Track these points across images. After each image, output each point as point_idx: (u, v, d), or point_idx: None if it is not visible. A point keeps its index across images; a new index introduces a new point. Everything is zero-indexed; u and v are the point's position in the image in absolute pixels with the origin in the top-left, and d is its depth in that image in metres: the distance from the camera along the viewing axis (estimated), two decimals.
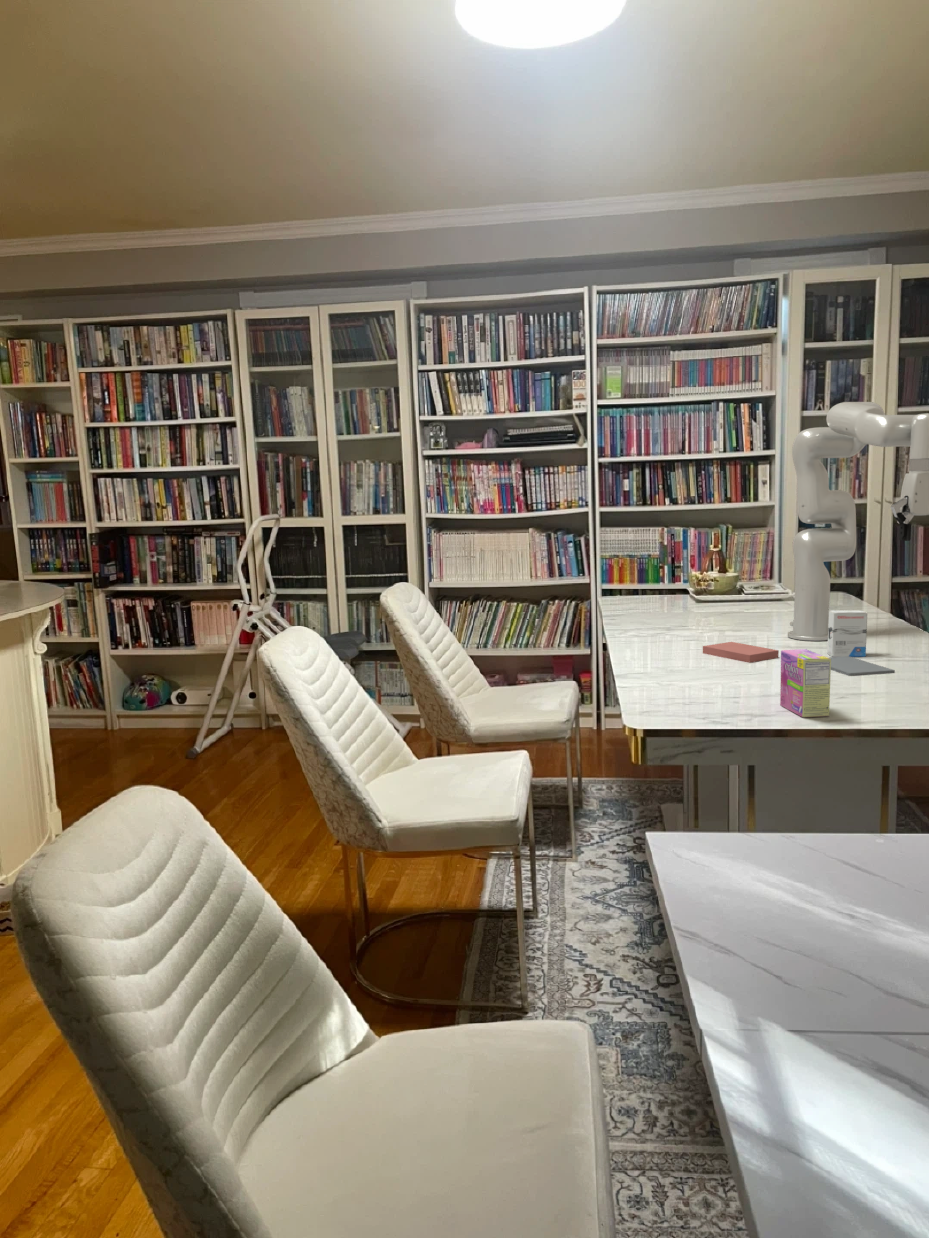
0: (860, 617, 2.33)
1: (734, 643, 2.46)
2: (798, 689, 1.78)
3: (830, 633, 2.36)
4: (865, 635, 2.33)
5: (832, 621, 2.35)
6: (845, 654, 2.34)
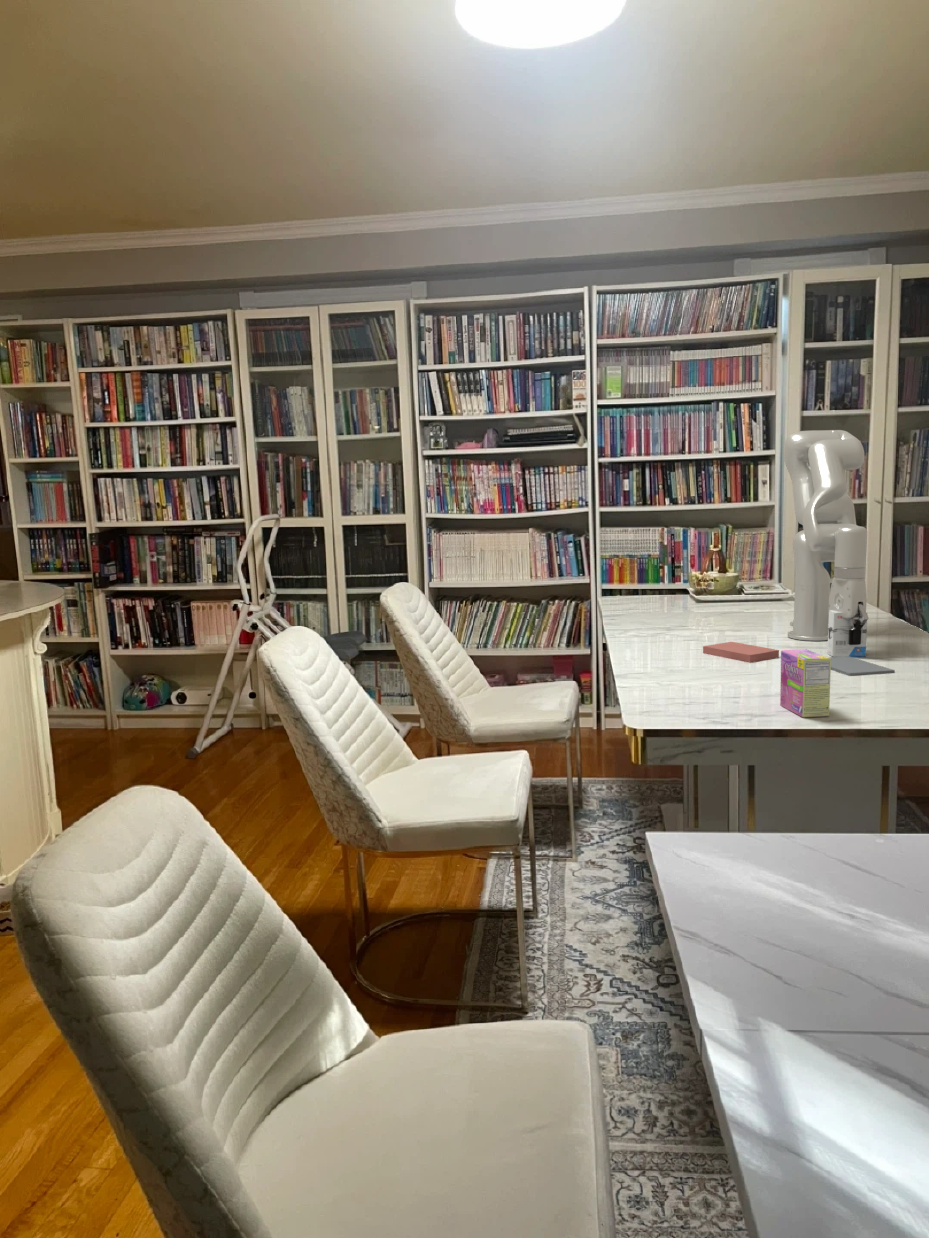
0: None
1: (734, 643, 2.46)
2: (798, 689, 1.78)
3: (830, 633, 2.36)
4: (865, 635, 2.33)
5: (832, 621, 2.35)
6: (845, 654, 2.34)
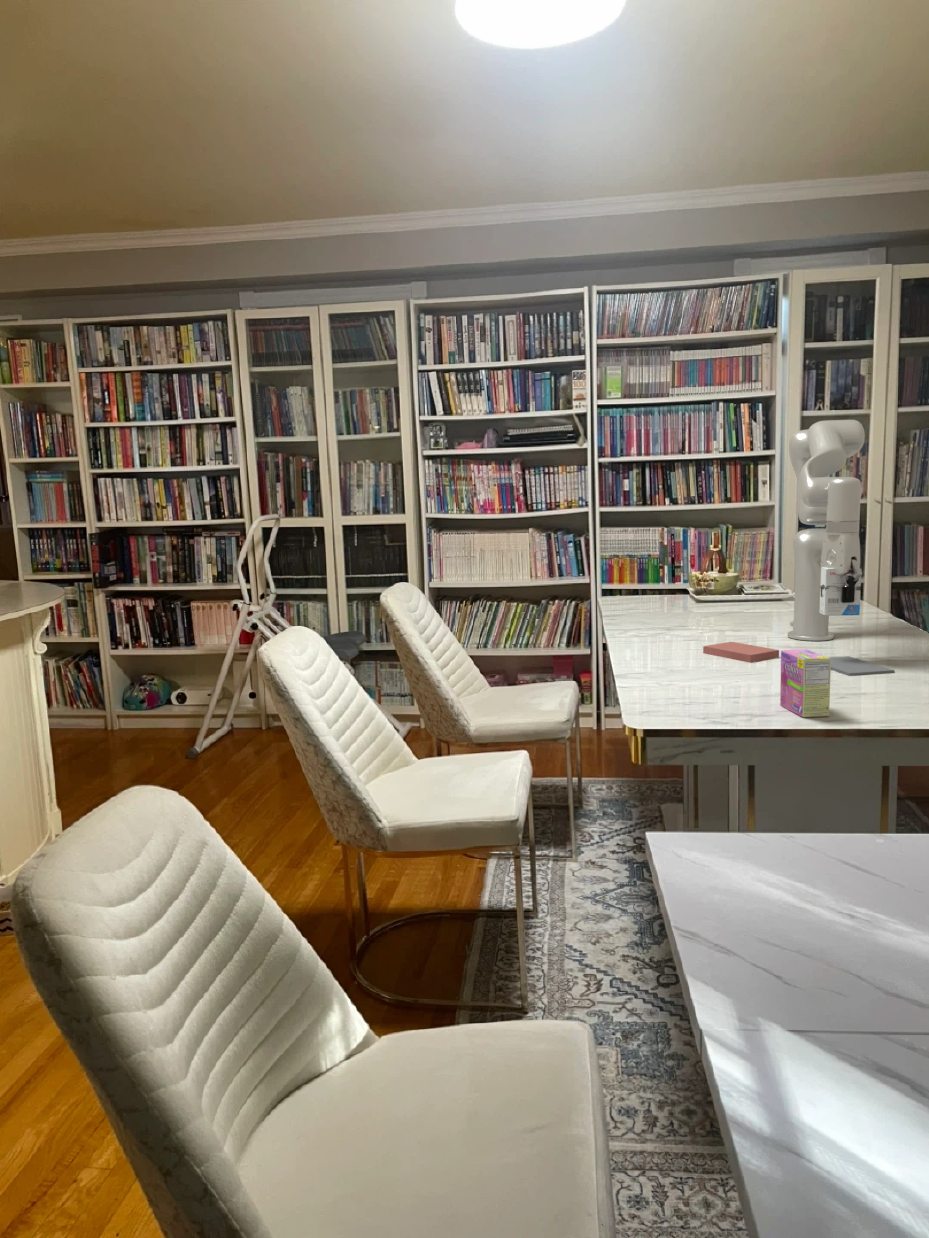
0: None
1: (734, 643, 2.46)
2: (798, 689, 1.78)
3: (822, 591, 2.25)
4: (859, 592, 2.22)
5: (824, 578, 2.23)
6: (838, 612, 2.23)
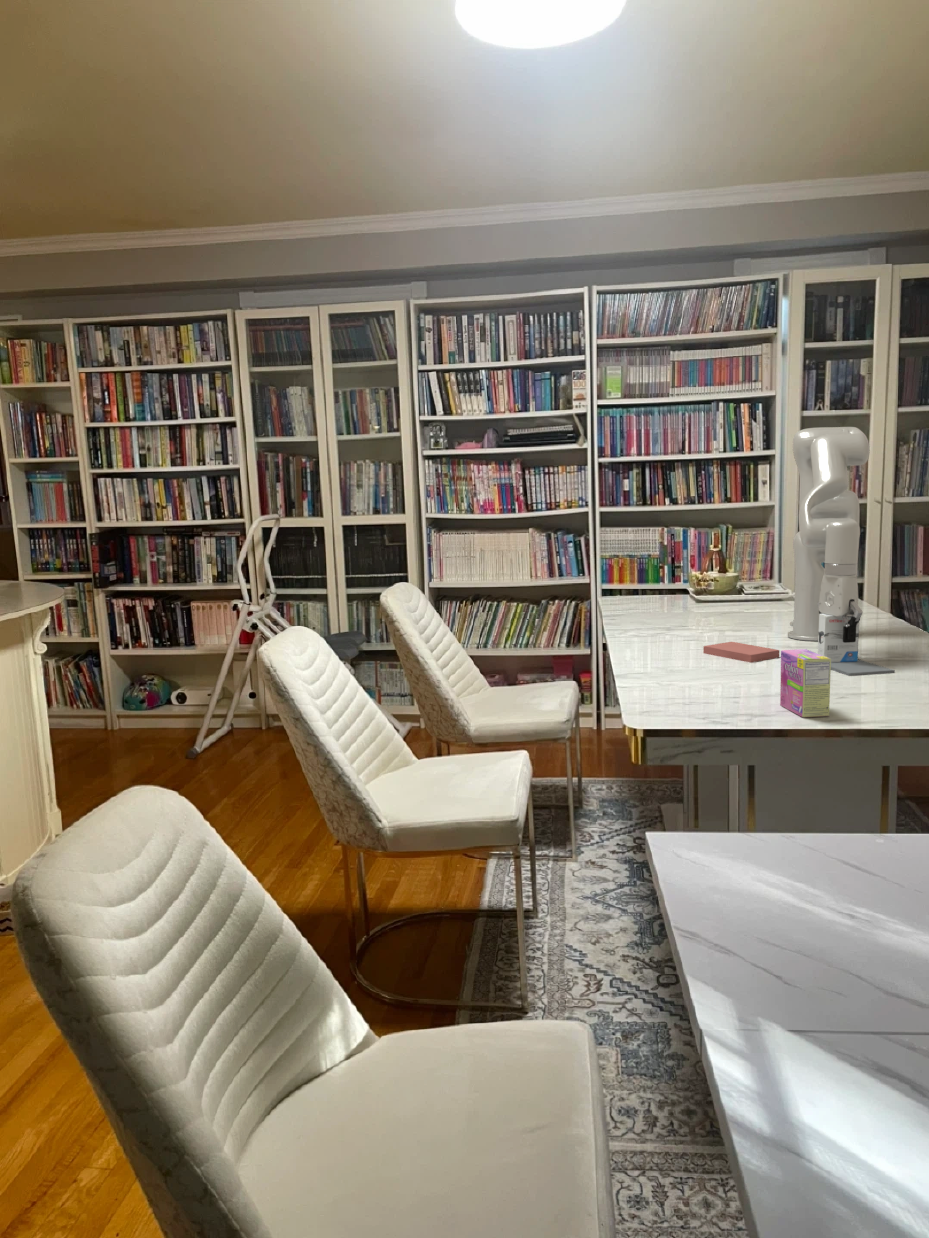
0: None
1: (734, 643, 2.46)
2: (798, 689, 1.78)
3: (821, 637, 2.26)
4: (857, 639, 2.24)
5: (823, 625, 2.25)
6: (837, 659, 2.25)
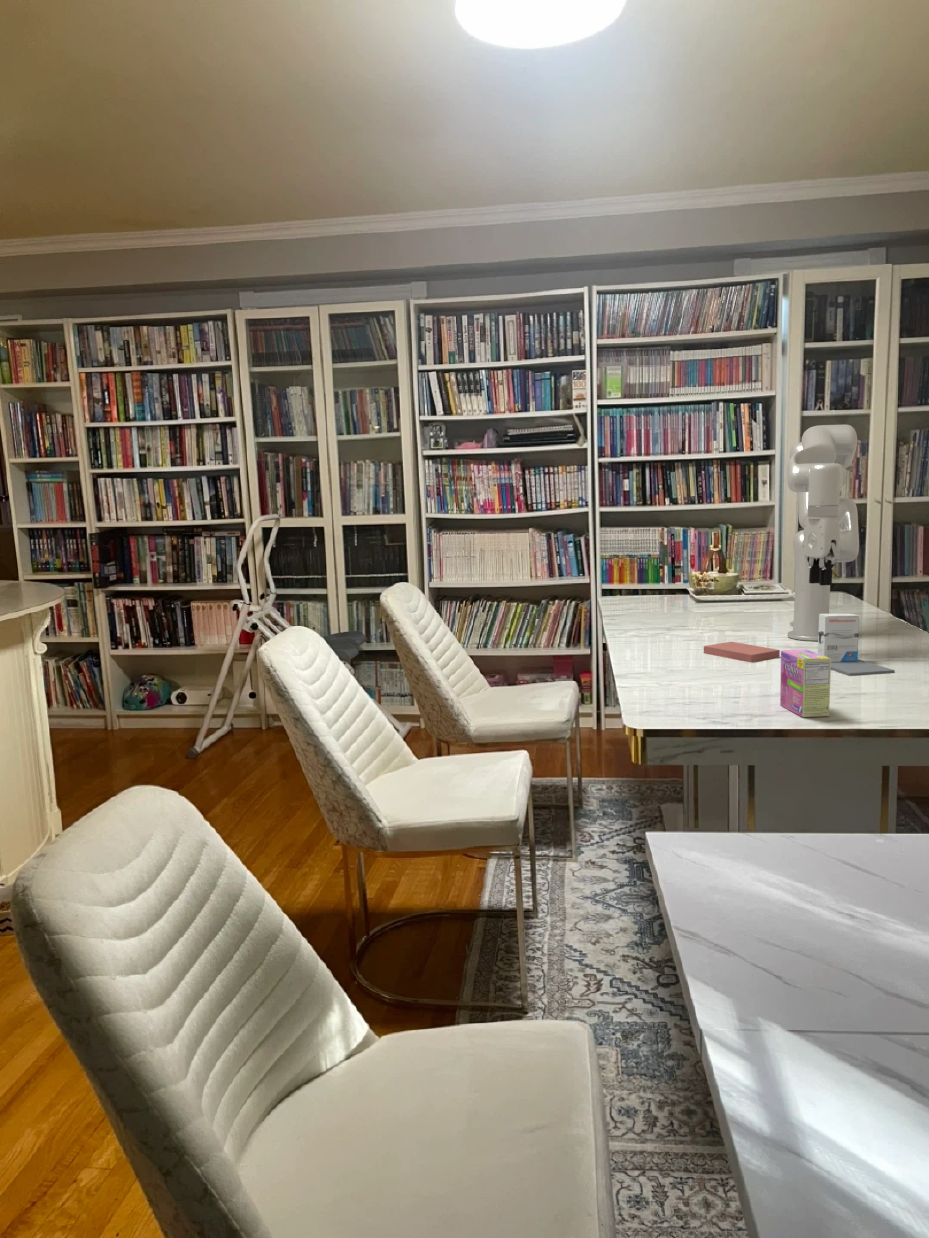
0: (852, 620, 2.24)
1: (734, 643, 2.46)
2: (798, 689, 1.78)
3: (821, 637, 2.26)
4: (857, 639, 2.24)
5: (823, 625, 2.25)
6: (837, 659, 2.25)
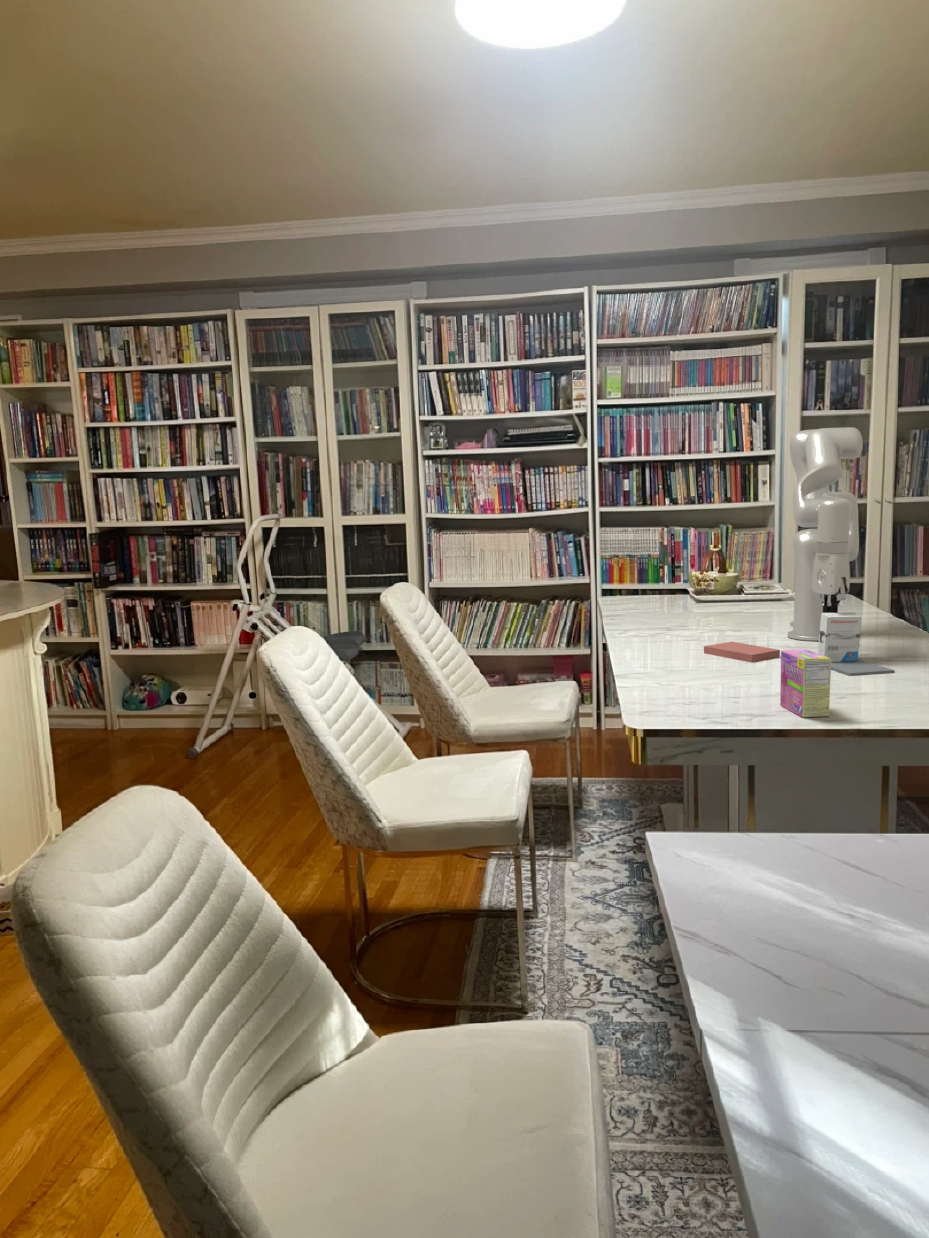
0: (854, 621, 2.22)
1: (735, 643, 2.46)
2: (798, 689, 1.78)
3: (822, 637, 2.26)
4: (858, 640, 2.24)
5: (825, 625, 2.24)
6: (837, 659, 2.25)
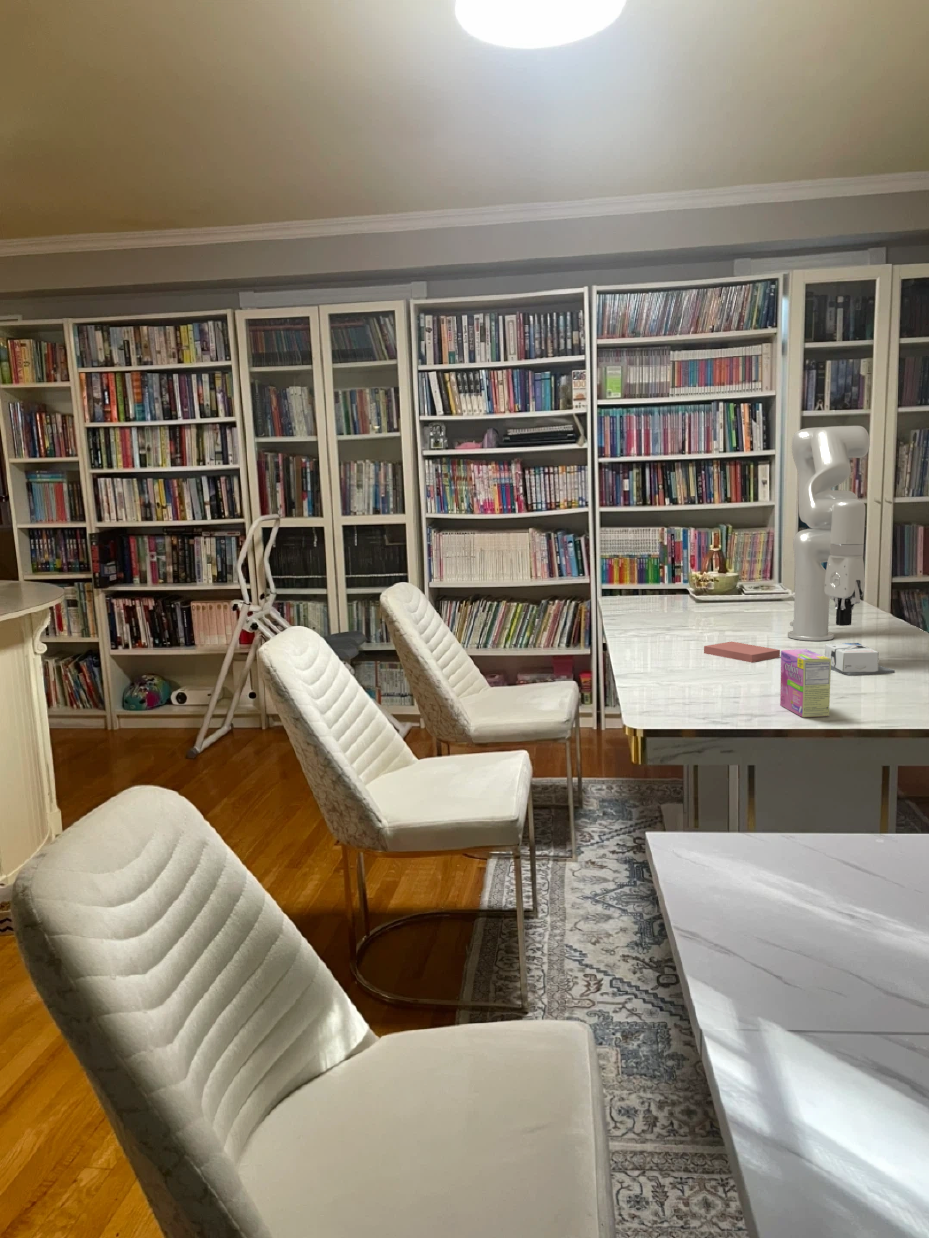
0: None
1: (735, 643, 2.46)
2: (798, 689, 1.78)
3: (833, 659, 2.19)
4: None
5: (838, 665, 2.16)
6: None
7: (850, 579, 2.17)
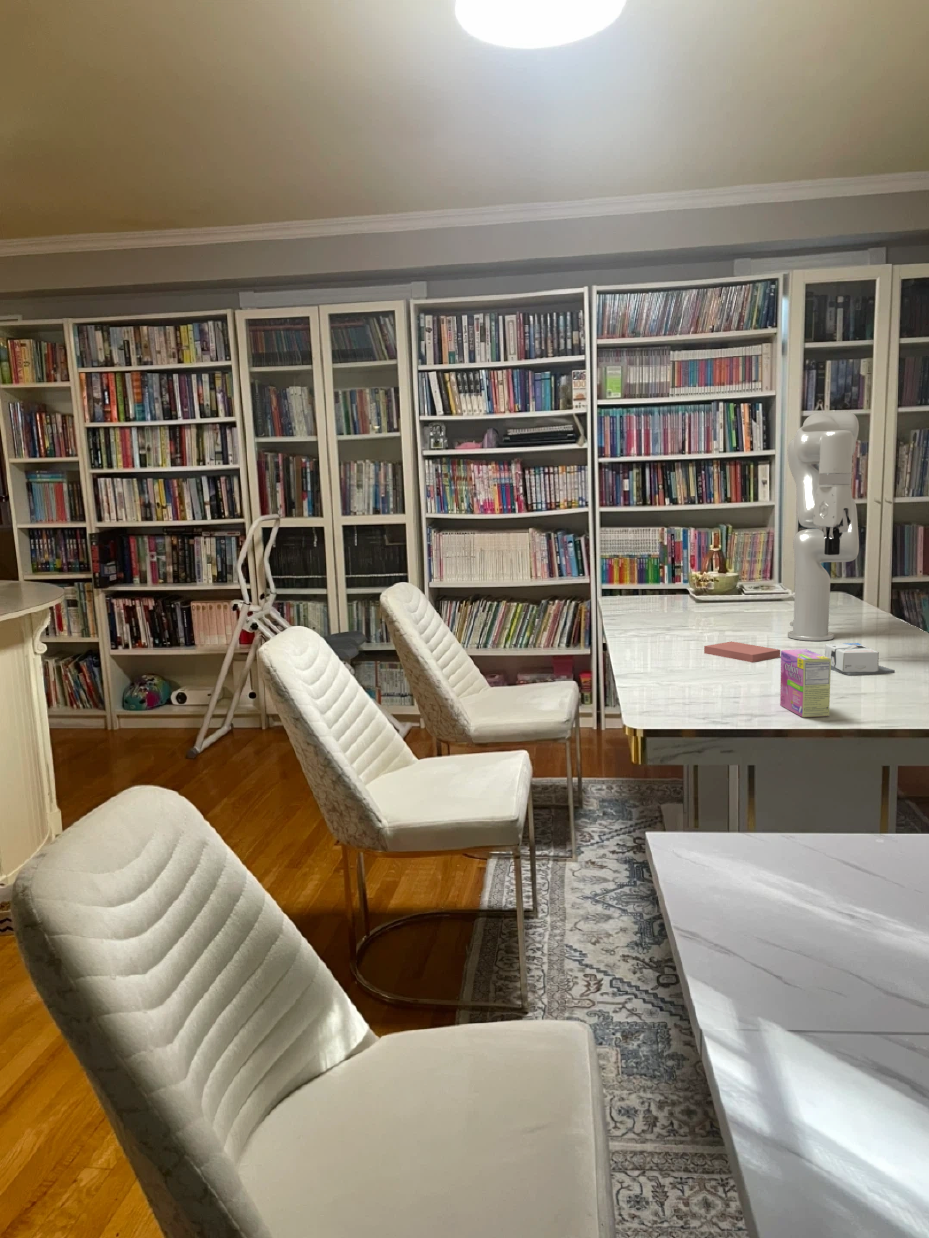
0: None
1: (735, 643, 2.46)
2: (798, 689, 1.78)
3: (833, 659, 2.19)
4: None
5: (838, 665, 2.16)
6: None
7: (838, 507, 2.20)
